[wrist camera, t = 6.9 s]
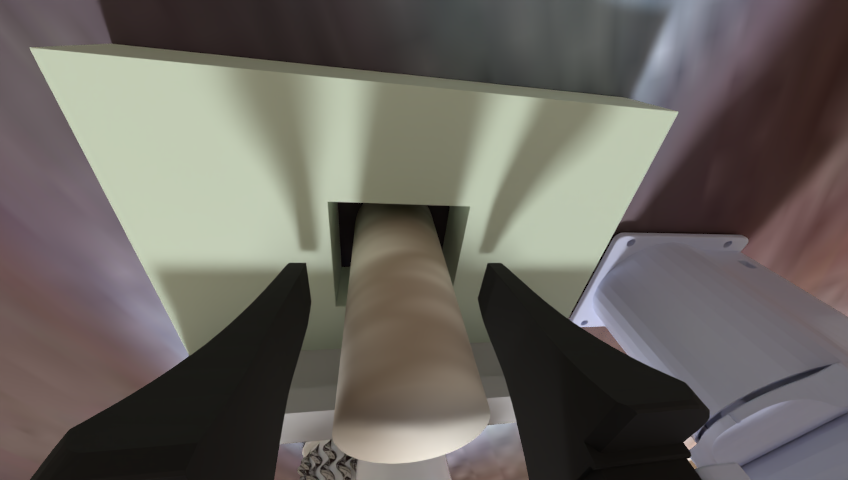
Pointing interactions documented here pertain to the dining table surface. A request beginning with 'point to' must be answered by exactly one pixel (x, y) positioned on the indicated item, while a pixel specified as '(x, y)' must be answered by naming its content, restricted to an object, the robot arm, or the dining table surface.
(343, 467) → the decorative candle
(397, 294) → the peg
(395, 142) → the socket board
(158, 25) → the dining table surface
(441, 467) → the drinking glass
